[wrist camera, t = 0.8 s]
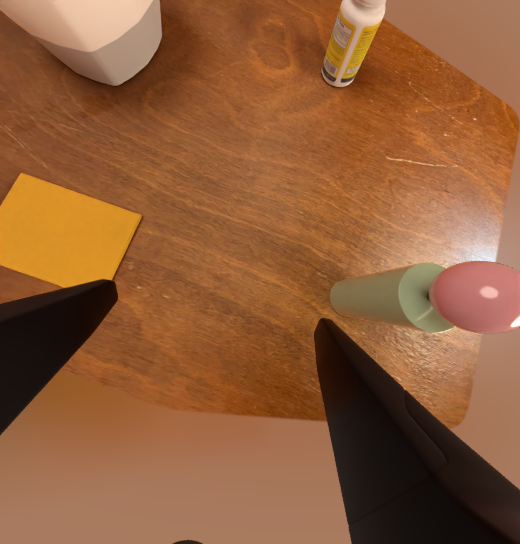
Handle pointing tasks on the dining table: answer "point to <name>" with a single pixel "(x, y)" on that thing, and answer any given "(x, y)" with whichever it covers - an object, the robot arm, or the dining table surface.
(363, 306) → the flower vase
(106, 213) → the cloth
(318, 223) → the dining table surface
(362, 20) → the supplement bottle
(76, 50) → the bowl
